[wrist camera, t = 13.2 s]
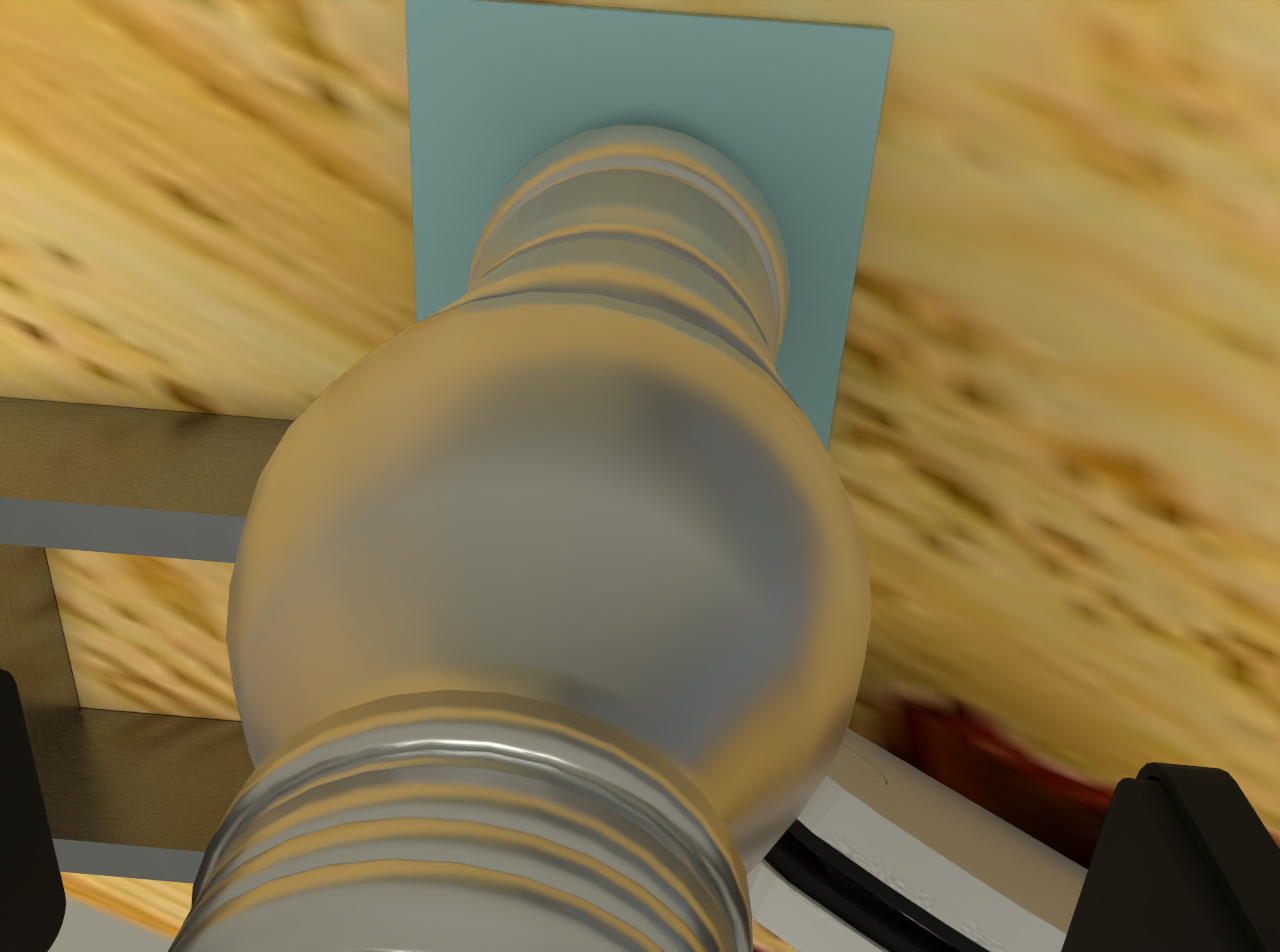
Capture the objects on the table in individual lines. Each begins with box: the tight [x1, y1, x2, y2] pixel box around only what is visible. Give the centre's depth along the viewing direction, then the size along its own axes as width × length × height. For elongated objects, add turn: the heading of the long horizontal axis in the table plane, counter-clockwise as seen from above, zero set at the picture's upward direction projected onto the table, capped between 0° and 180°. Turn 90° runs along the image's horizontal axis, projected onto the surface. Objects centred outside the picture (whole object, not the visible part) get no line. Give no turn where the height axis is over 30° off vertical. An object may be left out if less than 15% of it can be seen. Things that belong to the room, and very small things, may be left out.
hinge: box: [747, 728, 1088, 952], centre depth 29 cm, size 17×5×10 cm, turn 56°
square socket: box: [0, 397, 294, 883], centre depth 28 cm, size 11×10×5 cm
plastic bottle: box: [168, 125, 872, 952], centre depth 15 cm, size 6×7×20 cm
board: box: [405, 0, 894, 451], centre depth 24 cm, size 10×10×1 cm
